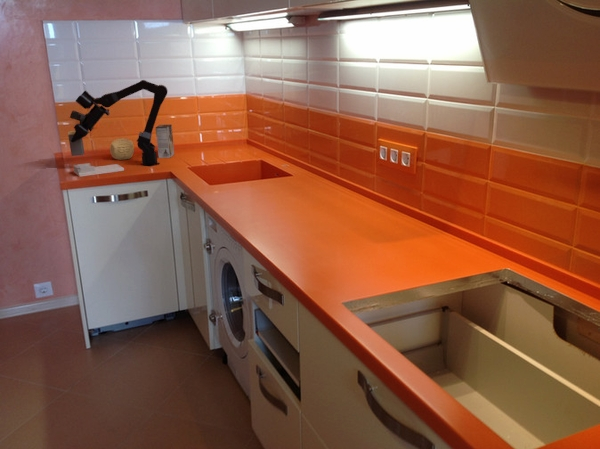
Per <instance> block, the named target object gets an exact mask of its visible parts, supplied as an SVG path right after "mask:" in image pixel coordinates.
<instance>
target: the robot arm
mask: <svg viewBox="0 0 600 449" xmlns="http://www.w3.org/2000/svg"><path fill="white" fill-rule="evenodd" d="M142 90H145V91H147V92H149V93H152V94H153V101H152V106H151V108H150V111H149V115H148V118H147V120H146V124H145V127H144V129H143V131H139V133H138V138H137V139H136V142H137V144H136V145H137V147H138V148H139V150H141V151H142V152H141V165H143V166H147V167H151V166H155V165H159V164H160V162H158V152H157V151H156V150H155V149H156V145H155V144H153V143H152V134H153V129H154V126H155V123H156V121H157V117H158V114H159V112H160V109H161V106H162V104H163V102H164V101H165V98H166V97H167V95H168V87H166V86H165V85H164V84H159V85H158V84H155V83H153V82H150V81H148V80H145V79H142V80H140V81H138V82H136V83H134V84H131V85H130V86H126V87H125V88H123V89H121V90H118V91H114V92H108V93H105V94H103V95H101V97H96V98H95V97H94V96H92V94H90V93H89V92H88V91H87V90H84V91H83V92H82V93H81V94H80V95H78V96H77V98H76V100H75V102H76V103H77V104H78V105H79V106H80V107H82V108H83V109H84V110H89V111H88V112H86V113H85V114H84V113H82V112H80V111H76V110H72V111H71V113H70V117H69V119H73V120H76V121H78V123H76V124H75V125H74V126H73V129H74V131H75V134H74V136H73V138H72V140H71V142H75V141H77V140H79V139H81V138H82V139H83V138H85V137H86V136H87V135H88V134H90V132H92V131H93V129H94V127H95V125H96V124H97V123H98V122H99V121H100V120H101V119H102V117H103V116H104V115H106V116H109V115H110V109H109V108H110V107H113V105H115V104H116V103H117V102H119V101H121V100H122V99H124V98H126V97H129V96H131V95H133V94H135V93H137V92H140V91H142ZM106 108H107V109H106Z"/></svg>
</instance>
